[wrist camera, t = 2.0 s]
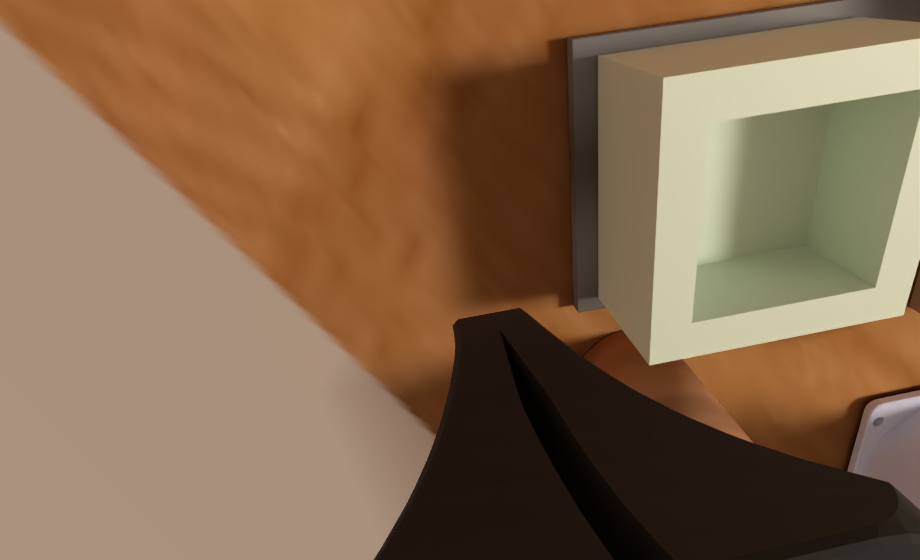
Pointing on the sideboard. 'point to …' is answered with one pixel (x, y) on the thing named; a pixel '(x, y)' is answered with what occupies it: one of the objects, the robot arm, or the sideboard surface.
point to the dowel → (662, 382)
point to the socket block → (759, 185)
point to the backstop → (892, 3)
